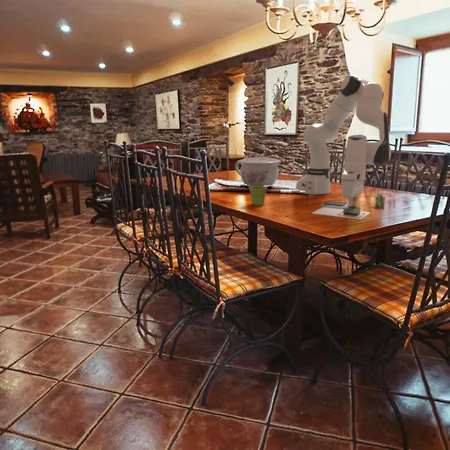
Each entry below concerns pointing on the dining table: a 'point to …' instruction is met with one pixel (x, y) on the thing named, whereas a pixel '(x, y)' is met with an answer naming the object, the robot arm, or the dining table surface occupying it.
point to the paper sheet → (339, 213)
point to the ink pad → (334, 204)
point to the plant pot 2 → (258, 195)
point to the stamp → (352, 208)
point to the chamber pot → (258, 170)
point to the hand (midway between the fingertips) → (352, 204)
